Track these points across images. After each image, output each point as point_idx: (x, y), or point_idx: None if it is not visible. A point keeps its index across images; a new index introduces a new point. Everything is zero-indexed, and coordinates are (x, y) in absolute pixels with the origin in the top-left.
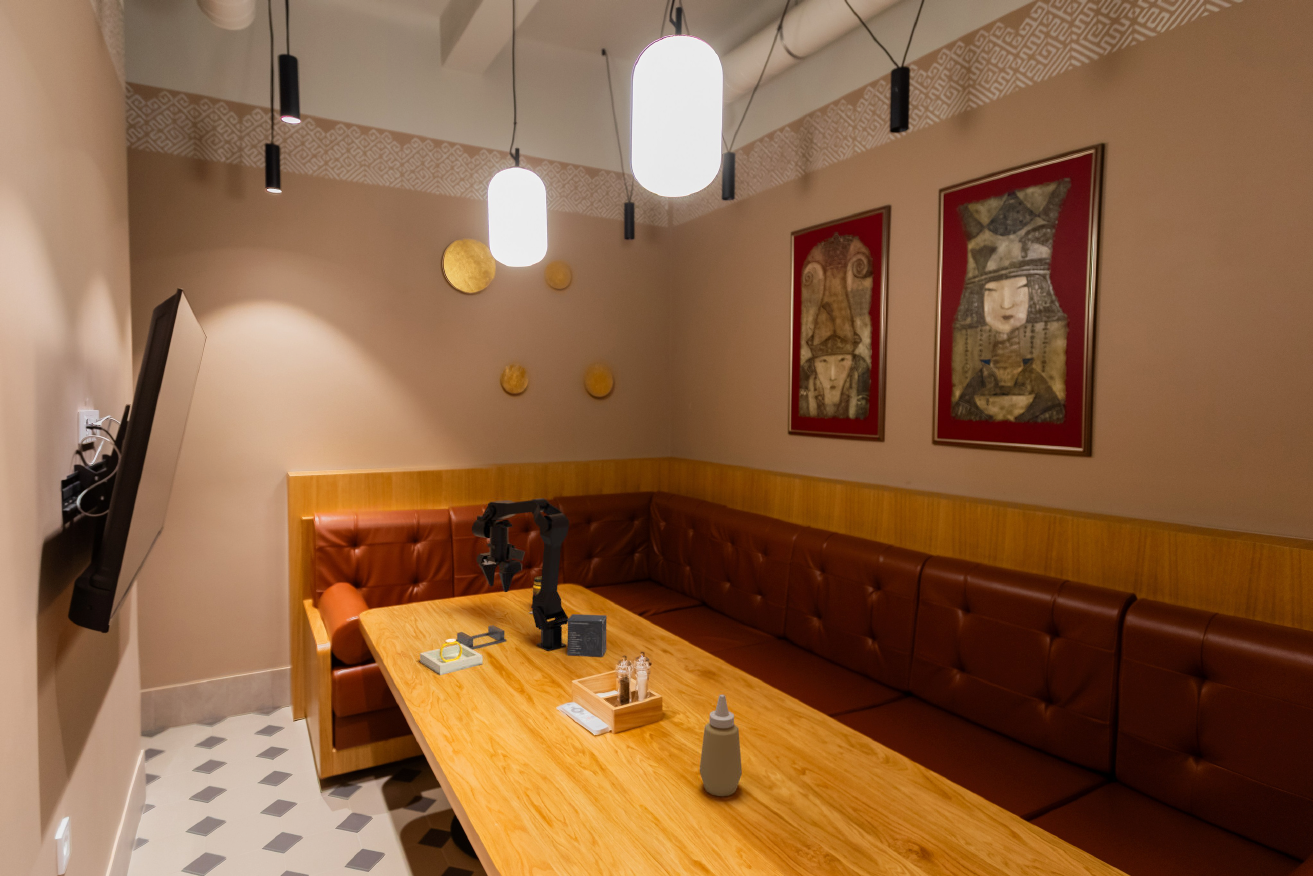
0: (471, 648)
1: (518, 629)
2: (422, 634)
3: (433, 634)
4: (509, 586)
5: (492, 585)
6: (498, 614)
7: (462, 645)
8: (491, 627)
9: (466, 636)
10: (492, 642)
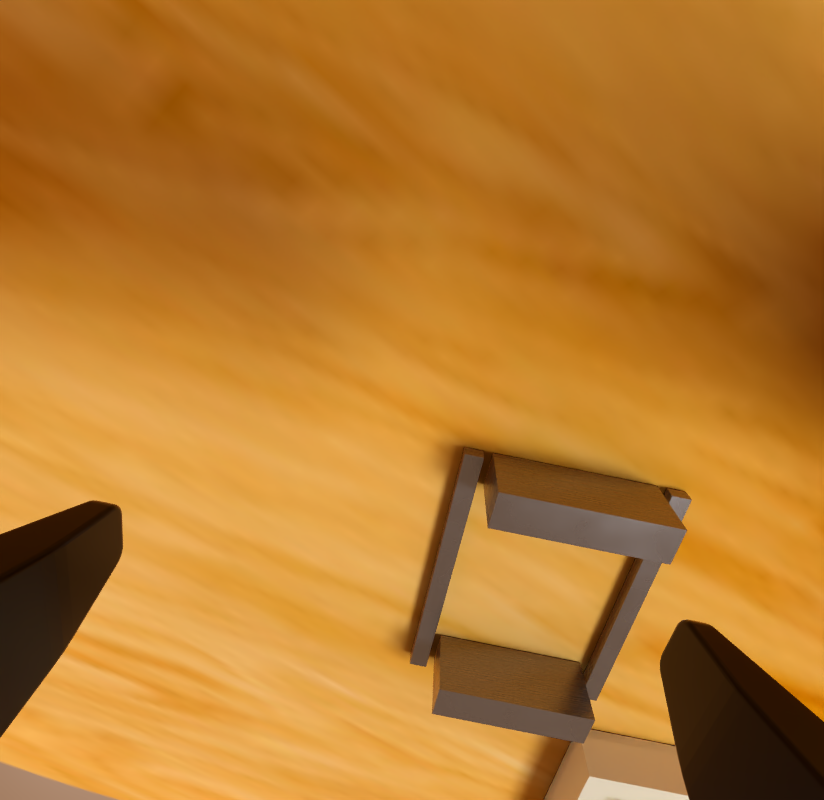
0: (597, 690)
1: (567, 235)
2: (161, 667)
3: (201, 639)
4: (817, 725)
5: (116, 528)
6: (44, 18)
7: (618, 789)
8: (536, 536)
9: (539, 726)
10: (647, 587)
